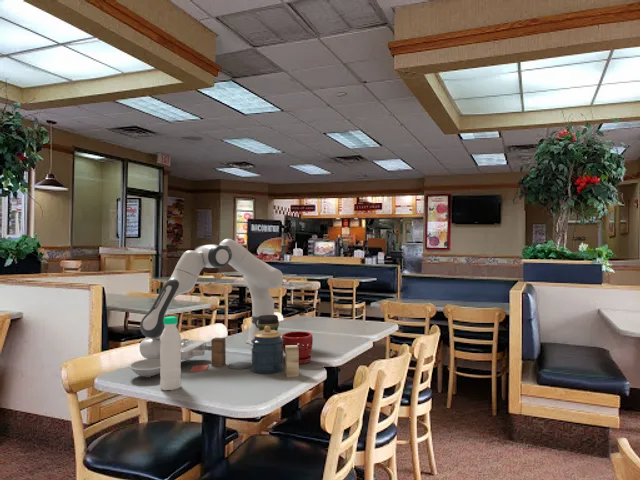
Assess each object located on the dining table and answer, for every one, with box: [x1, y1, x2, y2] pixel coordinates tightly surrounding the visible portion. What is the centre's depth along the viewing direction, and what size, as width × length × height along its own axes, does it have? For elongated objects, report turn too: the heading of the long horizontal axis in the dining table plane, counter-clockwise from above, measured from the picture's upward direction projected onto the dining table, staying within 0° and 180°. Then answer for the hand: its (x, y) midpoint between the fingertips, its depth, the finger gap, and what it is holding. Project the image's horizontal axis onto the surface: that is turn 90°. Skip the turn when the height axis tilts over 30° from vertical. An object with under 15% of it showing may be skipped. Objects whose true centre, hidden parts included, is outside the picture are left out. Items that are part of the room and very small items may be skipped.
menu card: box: [190, 364, 210, 373], centre depth 195 cm, size 9×6×1 cm, turn 6°
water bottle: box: [159, 315, 182, 391], centre depth 169 cm, size 7×7×25 cm
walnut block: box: [210, 337, 227, 367], centre depth 202 cm, size 4×4×11 cm
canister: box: [250, 326, 285, 374], centre depth 193 cm, size 13×13×18 cm
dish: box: [128, 358, 161, 378], centre depth 184 cm, size 18×14×5 cm
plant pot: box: [281, 331, 314, 365], centre depth 206 cm, size 13×13×12 cm
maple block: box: [284, 344, 300, 378], centre depth 185 cm, size 4×4×11 cm
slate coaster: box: [228, 361, 252, 370], centre depth 199 cm, size 10×10×1 cm
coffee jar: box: [258, 314, 280, 332], centre depth 217 cm, size 10×8×19 cm
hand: (208, 350), depth 203 cm, fingers open, 8 cm apart
